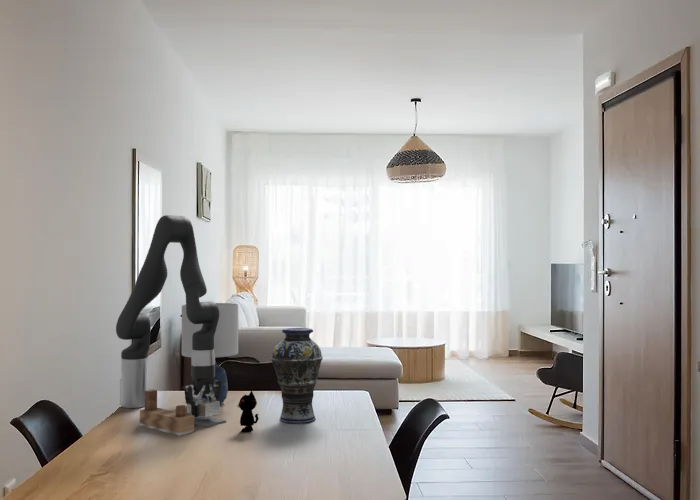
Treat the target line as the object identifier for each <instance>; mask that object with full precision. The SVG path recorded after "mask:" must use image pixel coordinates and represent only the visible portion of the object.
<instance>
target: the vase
mask: <svg viewBox="0 0 700 500" xmlns="http://www.w3.org/2000/svg"><path fill="white" fill-rule="evenodd" d="M313 332H314V330H313V329H312V328H311V327H296V326H295V327H285V328H283V329H282V330H281V333H283V334H285V337H284V339H283V340H281V341H280V342H278V343H277V344H276V345H275V347H274V348H273V351H272V355H271V358H270V360H271V362H272V366H273V367H274V371H275V374H276V377H277V383H278V385H279V387H280V391H281V399H282V409H281V413H280V417H279V422H280V423H282V424H286V425H307V424H311V423H313V422H315V421H316V419H317V418H316V415H315V412H314V407H313V399H314V390H315V388H316V385H317V383H318V382H319V381H318V377H319V376H318V375H319V372H320V368H321V364H322V361H323V355H322V350H321V348H320V346H319V345H318V344H317V343H316V342H315V341H314V340H313V339H312V338H311V337H310V334H311V333H313Z"/></svg>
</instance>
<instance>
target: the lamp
mask: <svg viewBox="0 0 700 500" xmlns="http://www.w3.org/2000/svg"><path fill="white" fill-rule="evenodd" d="M215 303H216V304H217V306H218V308H219V320H218V324H217V328H216V332H215V336H214V353H215V359H216V358H225V357H232V356H233V357H234V356H237V355H239V304H238V303H232V302H231V303H229V302H215ZM202 326H203V324H193V323H191V322H190V321H189V319H188V317H187V314H186V303H184V304H181V356H182V357H186V358H191V357H192V336H193V333H195V332H197V331H199V330H201V328H202ZM215 380H219V381H221V382H222V384H221V394H220V399H217V400H216V401H220V405H221V404H222V403H224V402H225V401H226V400H227V397H228V390H229V388H228V387H229V386H228V376H227V373H226V370H225V368H224V367H222V366H221V365H218V364H217V362H216V360H215V377H214V381H215ZM213 387H214V386H213ZM193 390H194V389H193ZM192 393H193V391H192ZM196 395H197V394H196ZM216 395H217V394H216ZM201 398H204V399H208V398H207V396H206V395H202V397H201Z"/></svg>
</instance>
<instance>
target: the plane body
mask: <svg viewBox="0 0 700 500" xmlns="http://www.w3.org/2000/svg"><path fill="white" fill-rule="evenodd" d="M139 427H142V428H143V427H144V428H148V429H152V430H155V431H160V432H164V433H167V434H171V435H176V436H179V437H180V436H184V435H189V434H192V433H194V432H195V425H194V416H193V415H192V414H188V413H186V405H184V404H181V405H179V404H178V405H176V406H175V411H173V410H170V409H165V408H160V407H158V390H157V389H148V390H147V391H145V406H144V408H143V409H139Z"/></svg>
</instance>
